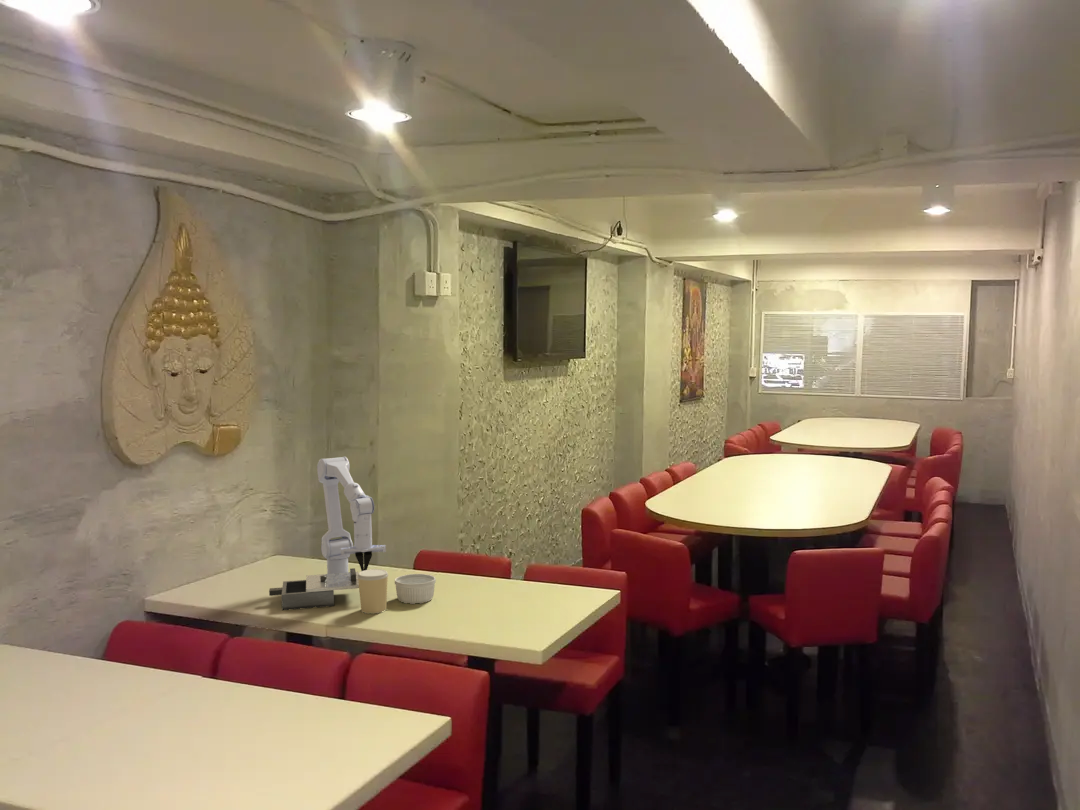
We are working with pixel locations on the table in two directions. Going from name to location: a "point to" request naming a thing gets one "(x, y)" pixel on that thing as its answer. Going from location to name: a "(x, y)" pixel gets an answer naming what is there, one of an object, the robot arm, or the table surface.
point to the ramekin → (415, 588)
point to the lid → (332, 581)
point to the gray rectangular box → (302, 596)
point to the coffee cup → (373, 590)
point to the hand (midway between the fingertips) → (364, 574)
